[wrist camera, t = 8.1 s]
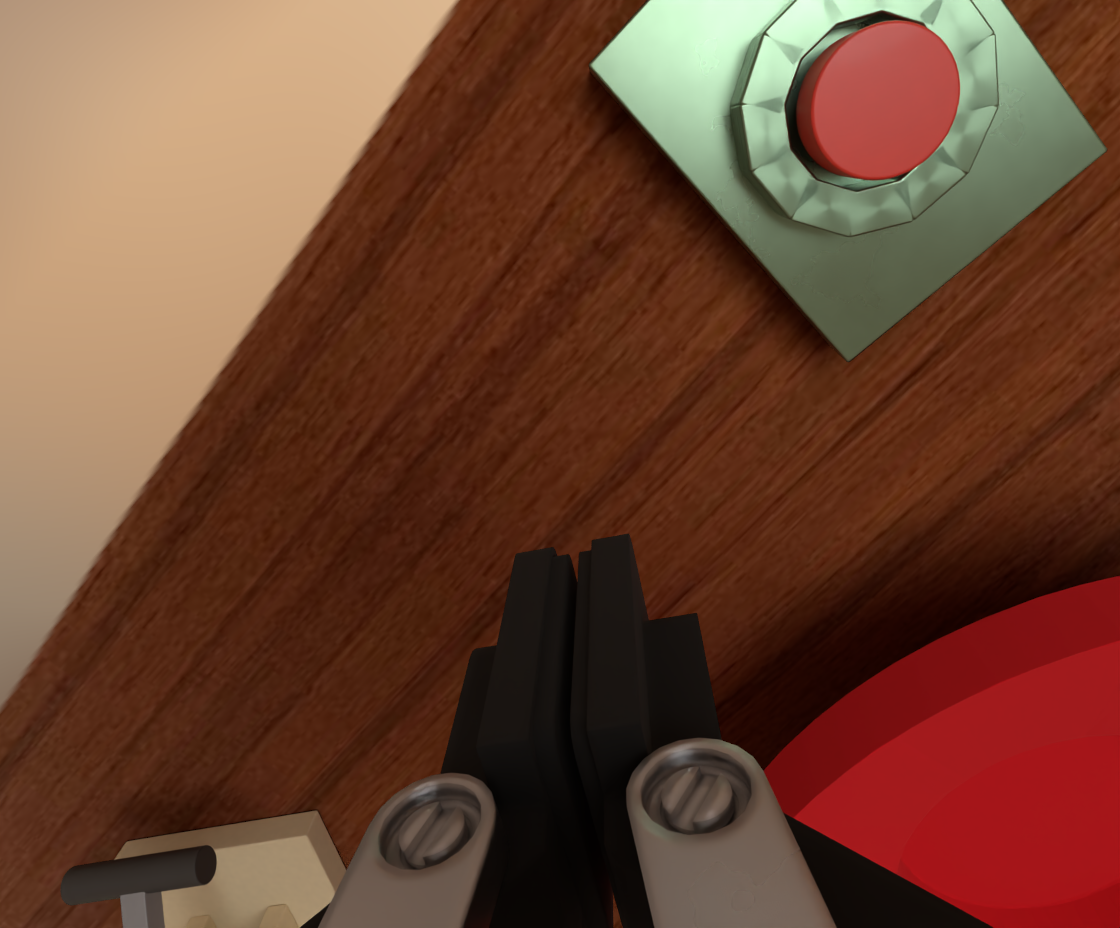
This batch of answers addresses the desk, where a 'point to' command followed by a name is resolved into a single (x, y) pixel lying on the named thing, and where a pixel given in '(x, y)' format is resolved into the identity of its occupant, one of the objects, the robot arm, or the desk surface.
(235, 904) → the lever stand
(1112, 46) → the desk surface
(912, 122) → the red button
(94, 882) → the switch lever
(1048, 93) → the block
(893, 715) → the bowl
